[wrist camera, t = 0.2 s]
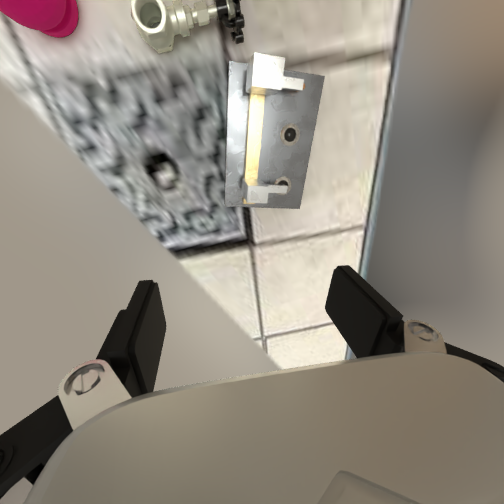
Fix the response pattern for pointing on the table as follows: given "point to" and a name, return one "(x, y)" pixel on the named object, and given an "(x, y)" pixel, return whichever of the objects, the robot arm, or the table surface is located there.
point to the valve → (183, 20)
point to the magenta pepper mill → (43, 15)
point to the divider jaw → (269, 76)
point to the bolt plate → (268, 141)
